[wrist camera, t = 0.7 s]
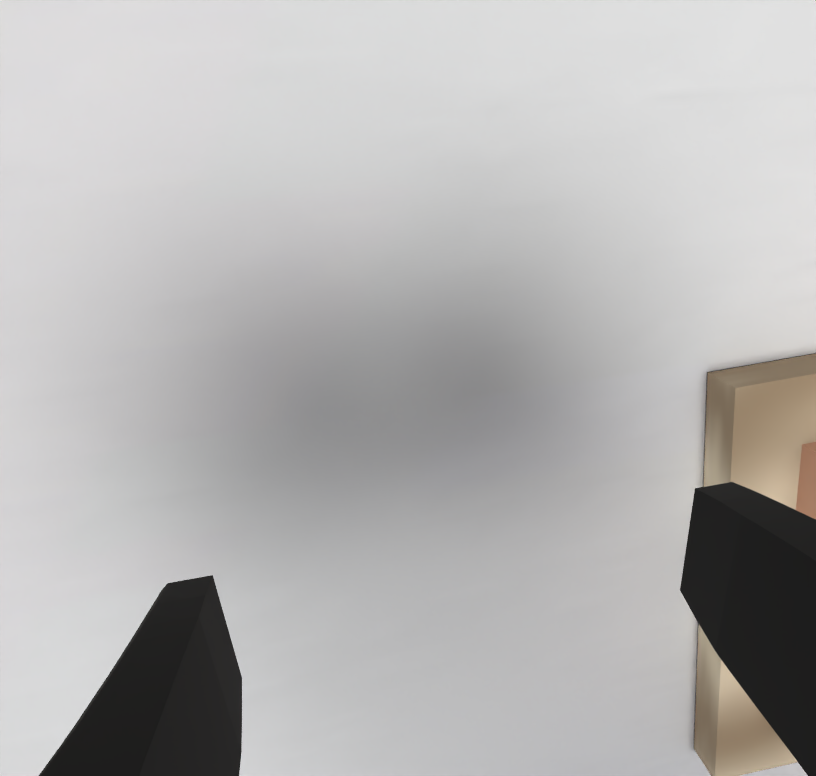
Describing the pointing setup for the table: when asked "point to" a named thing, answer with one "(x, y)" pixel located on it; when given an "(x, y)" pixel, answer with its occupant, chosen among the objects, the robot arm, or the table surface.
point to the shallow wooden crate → (807, 481)
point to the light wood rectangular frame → (777, 479)
